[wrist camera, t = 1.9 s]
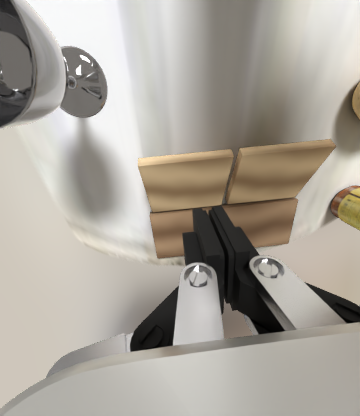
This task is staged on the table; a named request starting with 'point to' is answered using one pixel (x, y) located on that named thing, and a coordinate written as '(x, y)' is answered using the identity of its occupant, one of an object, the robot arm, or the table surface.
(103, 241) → the table surface
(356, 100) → the onion
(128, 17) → the table surface
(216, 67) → the table surface
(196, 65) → the table surface
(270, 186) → the oak plank
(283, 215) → the walnut board
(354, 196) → the sauce bottle
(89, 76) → the wine glass
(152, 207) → the oak plank
